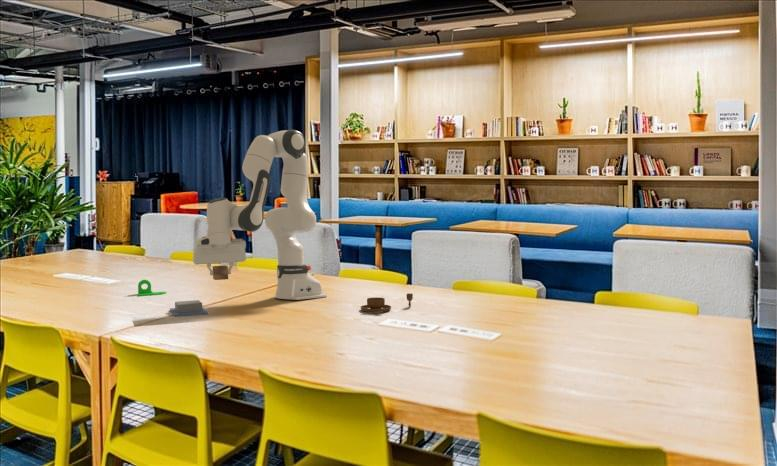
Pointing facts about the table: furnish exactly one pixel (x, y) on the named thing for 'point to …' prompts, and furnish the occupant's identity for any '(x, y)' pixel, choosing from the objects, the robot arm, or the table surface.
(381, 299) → the place setting
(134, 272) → the table surface
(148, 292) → the mechanical part
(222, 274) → the walnut cube
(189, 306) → the base
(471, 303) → the table surface
